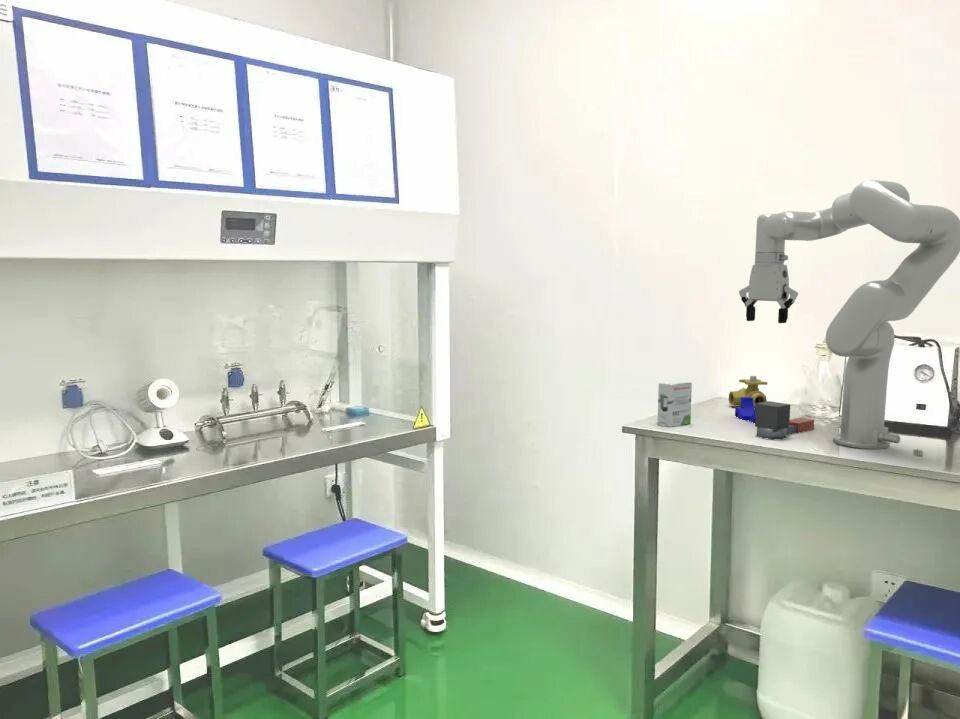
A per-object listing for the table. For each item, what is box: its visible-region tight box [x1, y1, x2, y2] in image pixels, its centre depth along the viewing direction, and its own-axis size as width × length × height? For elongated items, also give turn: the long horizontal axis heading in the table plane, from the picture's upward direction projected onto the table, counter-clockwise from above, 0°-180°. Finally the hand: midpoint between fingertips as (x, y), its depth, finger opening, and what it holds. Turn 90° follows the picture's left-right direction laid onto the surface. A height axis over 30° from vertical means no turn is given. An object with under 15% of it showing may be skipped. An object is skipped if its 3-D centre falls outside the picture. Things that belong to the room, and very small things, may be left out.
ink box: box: [657, 380, 693, 428], centre depth 212 cm, size 9×5×12 cm, turn 124°
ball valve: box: [727, 375, 768, 408], centre depth 240 cm, size 13×10×10 cm
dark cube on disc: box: [754, 400, 791, 430], centre depth 197 cm, size 6×6×6 cm
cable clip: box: [734, 397, 756, 424], centre depth 218 cm, size 12×4×6 cm, turn 3°
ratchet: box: [756, 417, 815, 440], centre depth 202 cm, size 21×7×6 cm, turn 128°
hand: (766, 321), depth 212 cm, fingers open, 9 cm apart
